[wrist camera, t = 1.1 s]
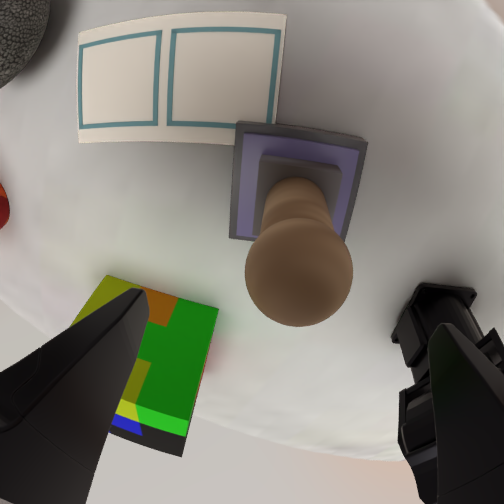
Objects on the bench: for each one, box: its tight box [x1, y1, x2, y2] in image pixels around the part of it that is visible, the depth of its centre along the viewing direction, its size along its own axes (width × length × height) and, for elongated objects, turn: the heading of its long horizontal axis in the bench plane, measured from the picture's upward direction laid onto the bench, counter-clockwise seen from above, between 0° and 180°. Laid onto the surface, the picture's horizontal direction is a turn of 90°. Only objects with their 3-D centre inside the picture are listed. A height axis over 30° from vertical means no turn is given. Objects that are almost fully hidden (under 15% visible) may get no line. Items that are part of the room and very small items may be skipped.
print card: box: [76, 11, 287, 146], centre depth 14 cm, size 13×8×1 cm, turn 85°
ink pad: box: [229, 120, 368, 242], centre depth 16 cm, size 7×7×2 cm
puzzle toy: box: [70, 275, 219, 457], centre depth 21 cm, size 10×10×10 cm
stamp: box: [245, 154, 353, 327], centre depth 12 cm, size 4×4×9 cm
